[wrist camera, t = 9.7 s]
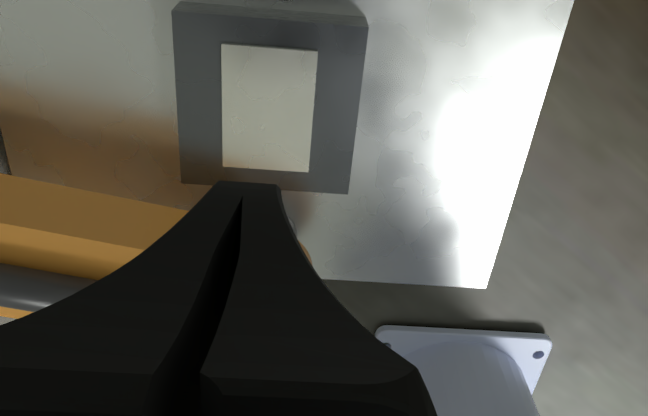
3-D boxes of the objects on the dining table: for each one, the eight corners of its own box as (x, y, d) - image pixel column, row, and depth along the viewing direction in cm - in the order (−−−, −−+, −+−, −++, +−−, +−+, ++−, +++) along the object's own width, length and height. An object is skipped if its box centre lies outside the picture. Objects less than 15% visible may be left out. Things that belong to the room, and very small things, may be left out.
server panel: (479, 273, 24) (497, 317, 22) (42, 246, 23) (12, 290, 21) (643, -284, 14) (705, -309, 12) (-95, -371, 13) (-179, -416, 11)
